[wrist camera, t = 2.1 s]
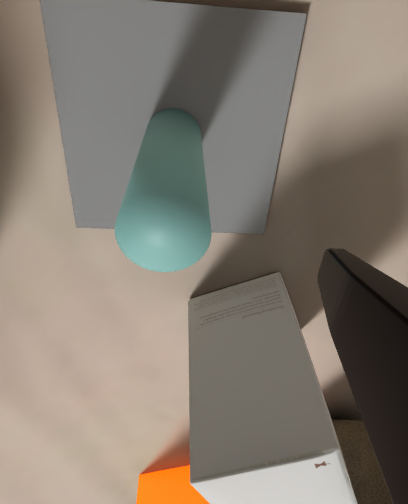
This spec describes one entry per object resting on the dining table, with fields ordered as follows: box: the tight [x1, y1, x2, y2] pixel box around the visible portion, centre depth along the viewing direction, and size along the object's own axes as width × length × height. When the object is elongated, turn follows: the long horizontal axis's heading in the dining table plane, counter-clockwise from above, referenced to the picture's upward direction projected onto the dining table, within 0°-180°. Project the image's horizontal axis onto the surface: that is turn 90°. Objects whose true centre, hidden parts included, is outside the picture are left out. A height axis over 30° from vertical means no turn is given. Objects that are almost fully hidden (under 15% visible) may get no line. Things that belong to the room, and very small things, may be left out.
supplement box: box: [188, 272, 357, 504], centre depth 23 cm, size 7×7×13 cm
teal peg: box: [115, 108, 211, 272], centre depth 15 cm, size 3×3×10 cm
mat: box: [40, 0, 307, 234], centre depth 19 cm, size 12×12×1 cm
